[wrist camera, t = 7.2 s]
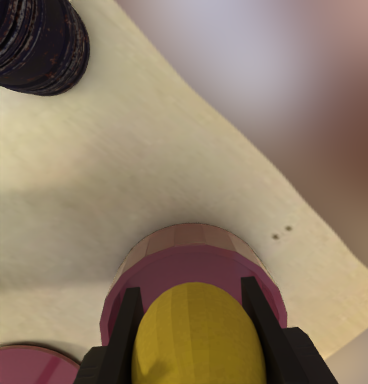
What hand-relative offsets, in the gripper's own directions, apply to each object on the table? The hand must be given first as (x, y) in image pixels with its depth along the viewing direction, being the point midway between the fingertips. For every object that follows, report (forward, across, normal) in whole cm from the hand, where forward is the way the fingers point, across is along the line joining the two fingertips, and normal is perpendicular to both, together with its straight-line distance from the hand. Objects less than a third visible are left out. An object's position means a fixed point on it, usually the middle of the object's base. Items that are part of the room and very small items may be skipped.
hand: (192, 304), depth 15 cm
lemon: (+1, 0, 0) cm, 1 cm away
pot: (+17, 0, -10) cm, 20 cm away
